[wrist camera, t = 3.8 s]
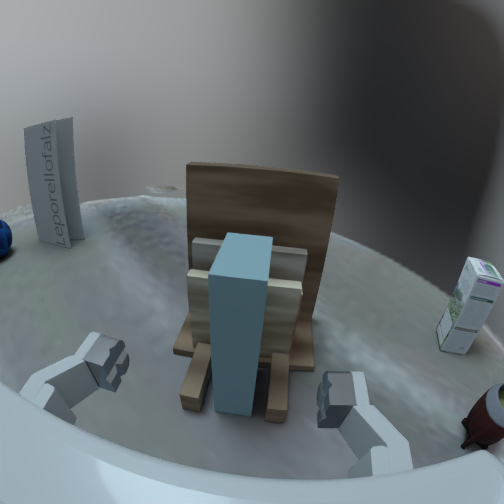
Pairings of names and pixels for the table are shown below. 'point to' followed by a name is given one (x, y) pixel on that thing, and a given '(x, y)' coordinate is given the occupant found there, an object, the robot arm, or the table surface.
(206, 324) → the offcut stack
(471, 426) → the mate gourd
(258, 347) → the light blue tall block
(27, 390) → the robot arm
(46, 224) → the brochure
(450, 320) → the syrup box
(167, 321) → the table surface
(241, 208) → the offcut rack
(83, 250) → the table surface
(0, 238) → the bomb
